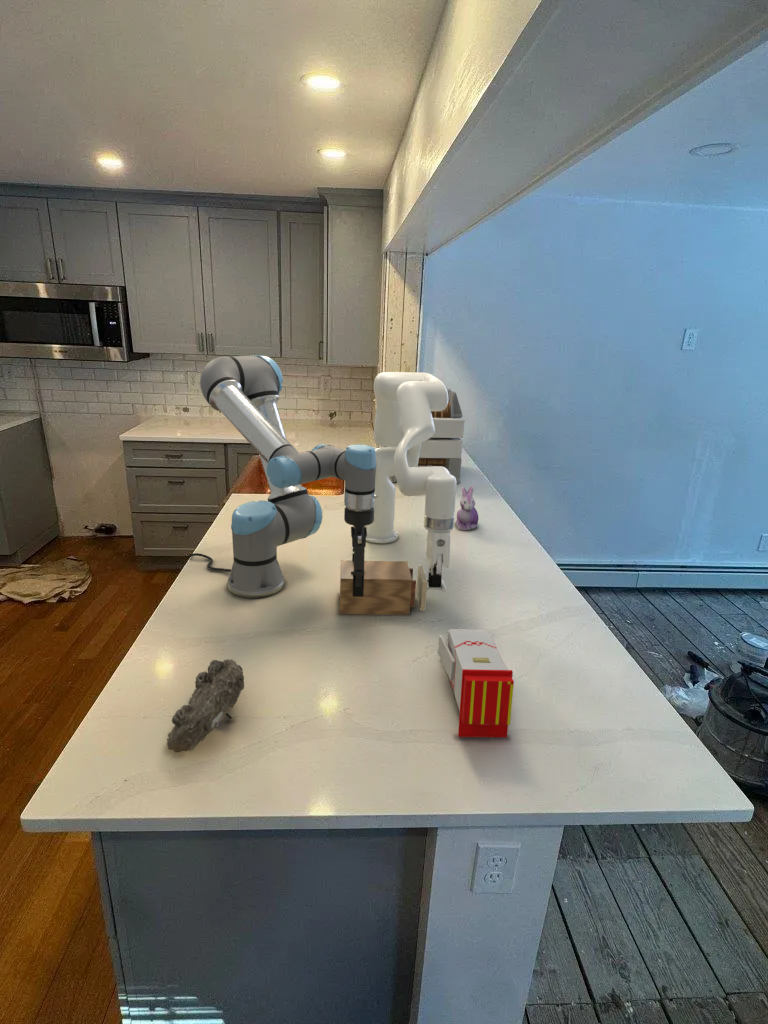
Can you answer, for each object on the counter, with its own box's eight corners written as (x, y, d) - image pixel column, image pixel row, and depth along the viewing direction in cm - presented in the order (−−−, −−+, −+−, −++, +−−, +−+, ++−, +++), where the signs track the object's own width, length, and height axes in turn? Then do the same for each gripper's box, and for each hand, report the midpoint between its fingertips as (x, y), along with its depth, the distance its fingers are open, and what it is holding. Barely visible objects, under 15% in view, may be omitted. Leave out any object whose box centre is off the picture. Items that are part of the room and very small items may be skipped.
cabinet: (405, 594, 158) (407, 561, 154) (409, 614, 147) (411, 579, 144) (339, 593, 156) (340, 560, 153) (339, 614, 146) (340, 578, 143)
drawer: (440, 592, 158) (442, 566, 155) (445, 610, 148) (448, 582, 146) (359, 591, 156) (360, 564, 153) (360, 609, 147) (361, 581, 144)
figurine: (464, 532, 203) (468, 492, 198) (448, 523, 212) (451, 484, 206) (485, 529, 207) (489, 490, 202) (469, 519, 216) (472, 482, 211)
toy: (488, 613, 130) (523, 677, 101) (484, 667, 133) (517, 744, 104) (435, 612, 130) (455, 676, 101) (432, 666, 133) (451, 743, 103)
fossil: (192, 660, 117) (244, 628, 112) (224, 691, 120) (276, 661, 115) (142, 746, 98) (202, 712, 93) (182, 779, 101) (242, 748, 96)
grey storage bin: (382, 463, 289) (386, 382, 275) (445, 464, 293) (451, 384, 279) (390, 482, 257) (394, 392, 243) (460, 483, 261) (468, 394, 247)
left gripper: (377, 523, 132) (373, 607, 139) (372, 492, 153) (369, 566, 161) (344, 523, 131) (343, 607, 138) (344, 492, 153) (343, 566, 160)
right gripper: (458, 532, 138) (453, 600, 144) (448, 512, 152) (443, 575, 158) (428, 532, 137) (423, 600, 143) (420, 512, 151) (417, 575, 157)
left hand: (357, 585), depth 150 cm, fingers closed on cabinet, 11 cm apart
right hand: (434, 586), depth 150 cm, fingers closed
